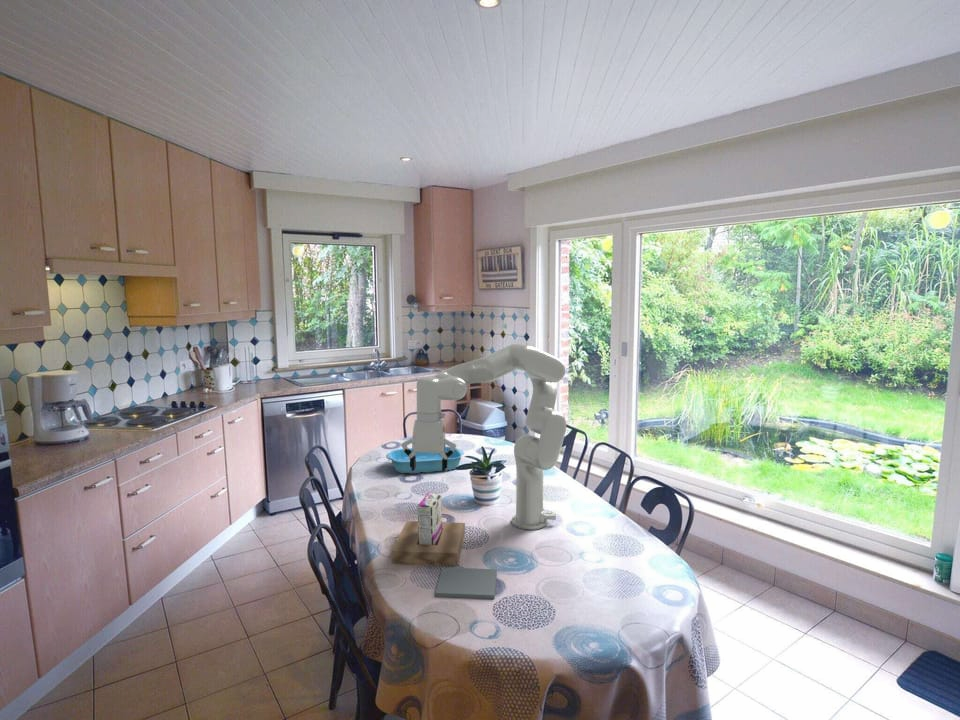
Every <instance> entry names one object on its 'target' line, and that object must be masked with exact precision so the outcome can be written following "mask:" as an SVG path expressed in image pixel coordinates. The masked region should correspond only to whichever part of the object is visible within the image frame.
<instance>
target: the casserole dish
mask: <svg viewBox="0 0 960 720" xmlns="http://www.w3.org/2000/svg"><path fill="white" fill-rule="evenodd" d="M408 449H409V450H410V451H411V452H412V451H413V450H412V447H408ZM450 449H451V447H450V446H448V445H446V446H445V449H444V450H445V451H446V452H448V451H449V450H450ZM464 454H465V451H463V449H460V448H455V450H454V451H453V453H452V455H450V456H449V457H448V465H447V468H446V469H445V470H449V471H453V470H452V469H454V470H456V468H455V467H457V466H458V467H459V465H460V463H461V459H462V456H463V455H464ZM385 457H386V459H387V460H390V461H391V464H392V466H393V468H394V469H395V471H397V473H398V474H399V473H400V474H403V473H410V474H421V473H420V472H426V473H434V472H433V471H439V472H443V471H442V459H443V457H442V456H441V454H440V453H416V454H415V457H416V468H415V470H414V471H412V467H410V458H409V456H408V455H407V454H406V453H405V452H404V450H403V448H398V449H394V450H391V451H389V452H388V453H387V454H386V455H385ZM458 467H457V468H458Z"/></svg>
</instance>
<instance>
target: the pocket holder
mask: <svg viewBox="0 0 960 720" xmlns="http://www.w3.org/2000/svg"><path fill="white" fill-rule="evenodd" d="M465 535H466V523H465V522H453V521H451V522H450V521H449V522H447V521H446V522H445V521H442V533H441V536H440V539H439V542H438V545H419V534H418V520H406V522H405V523H404V526H403V527H402V530H401V532H400V534H399V535H398V536H397V539H396V541H395V543H394V545H393V548H392V549H391V564H394V563H398V565H403V564H404V565H421V564H429V566H447V565H453V567H455V566H456V567H458V565H459V561H460V556H461V552H462V547H463V544H464V541H465ZM399 563H400V564H399Z"/></svg>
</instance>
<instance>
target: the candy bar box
mask: <svg viewBox="0 0 960 720" xmlns="http://www.w3.org/2000/svg"><path fill="white" fill-rule="evenodd" d="M442 508H443V507H442V493H438V492H437V493H436V492H434V493H432V492H427V493H426V494H425V496H424V498H422V500H421V501H420V502H419V504H417V521H418V534H419V545H438V542H439V539H440V536H441V533H442V522H443V521H442V520H443V519H442V518H443V517H442V514H443V513H442V512H443V511H442Z"/></svg>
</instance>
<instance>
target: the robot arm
mask: <svg viewBox="0 0 960 720" xmlns="http://www.w3.org/2000/svg"><path fill="white" fill-rule="evenodd" d="M518 370H519V371H523V372H526V374H527V376H528V378H529V379H530V382H531V384H532V395H531V399H530V403H529V406H528V410H527V414H526V417H525V426H526V428H527V429H528V430H529V431H531V432H533V433H535V434H537V435H539V437H537V436H534V435H531V434H525V435H521V436H520V437H518V438H517V440H516V441H515V443H514V446H513V447H514V448H513V455H514V456H513V457H514V459H515V466H516V467H515V469H516V470H515V471H516V475H515V476H516V478H515V479H516V481H515V482H516V483H515V484H516V485H515V487H516V490H515V492H516V493H515V496H516V497H515V514H514V515H513V516H512V518H511V524H512V525H513V526H514V527H516V528H519V529H522V530H528V531H529V530H531V531H532V530H539V529H542V528H545V527H546V526H547V524H548V520H551V521H556V520H557V515H556V514H554V513H553V512H552V511H548V512H547V511H544V471H548V470H551V469H552V468H553V467H554V466H555V465H556V464H557V462H558V460H559V457H560V454H561V451H562V446H563V443H564V440H565V436H566V431H567V422H566V421H567V420H566V418H565V416H564V415H563V413H561V412H560V411H558V410H555V406H556V401H557V396H558V389H557V386H556V385H557V384H556V383H558V382H561V380H563V378H564V376H565V374H566V367H565V364H564V362H563V360H561V359H560V358H558V357H555V356H554V355H551V354H549V353H547V352H545V351H543V350H541V349H538V348H536V347H534V346H532V345H528V344H519V343H512V344H509V345H507V346H505V347H503V348H501V349H498V350H496V351H494V352H491V353H490V354H487V355H485V356H483V357H481V358H476V359H473V360H470V361H467V362H464V363H459V364H456V365H454V366H451V367H449V368H447V369H445V370H443V371H440V372H438V373H437V374H436V375H435V376H425V377H419V378H418V379H417V381H416V419H415V420H414V423H413V427H412V428H413V429H412V437H411V438H410V439H408V440H406V441H403V442H402V443H401V447H402V448H401V449H403V450H404V452H405V453H406V454H407V455H408V456H409V458H410V467H412V471H414V470H415V468H416V457H415V454H416V453H440V454H441V456H442V457H443V459H442V471H441V472H443V473H445V472H446V471H445V469H446V468H447V465H448V457H449V456H450V455H452V453H453V451H454V450H455V448H456V447H457V444H456V443H455V442H452V441H450V440H448V439H446V430H445V429H446V427H445V423H444V420H443V419H446V413H443V412H442V407H441V406H442V404H441V403H442V401H458V400H461V399H463V398H464V397H465V396H466V395H467V392H468V385H470V384H486V383H491V382H494V381H496V380H499V379H501V378H503V377H504V376H507V375H508V374H509V375H510V374H511V373H513V372H515V371H518ZM409 445H411V448H412V450H413V451H412V452H411V451H410V450H409V449H408V448H409ZM445 446H448V447H451V449H450V450H449V451H448V452H446V451H445V450H444V449H445Z"/></svg>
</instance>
